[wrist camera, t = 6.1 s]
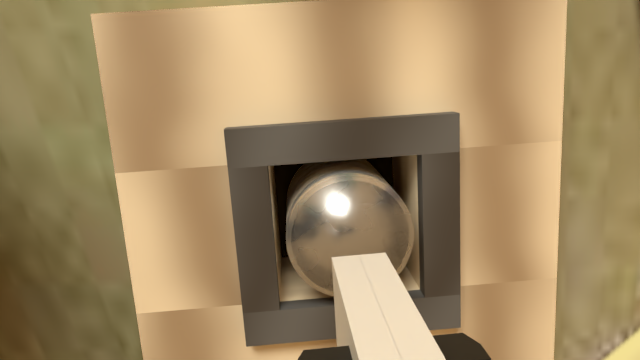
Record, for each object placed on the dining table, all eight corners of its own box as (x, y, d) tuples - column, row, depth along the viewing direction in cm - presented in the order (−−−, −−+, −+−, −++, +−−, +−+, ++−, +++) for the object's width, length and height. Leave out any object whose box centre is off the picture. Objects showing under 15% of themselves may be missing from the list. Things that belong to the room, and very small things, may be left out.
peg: (290, 253, 26) (291, 303, 20) (282, 155, 25) (280, 180, 19) (388, 245, 26) (415, 292, 21) (384, 148, 25) (412, 170, 20)
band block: (179, 370, 28) (150, 451, 22) (132, 25, 24) (82, 11, 18) (505, 341, 29) (561, 411, 23) (510, 2, 25) (579, -18, 19)
